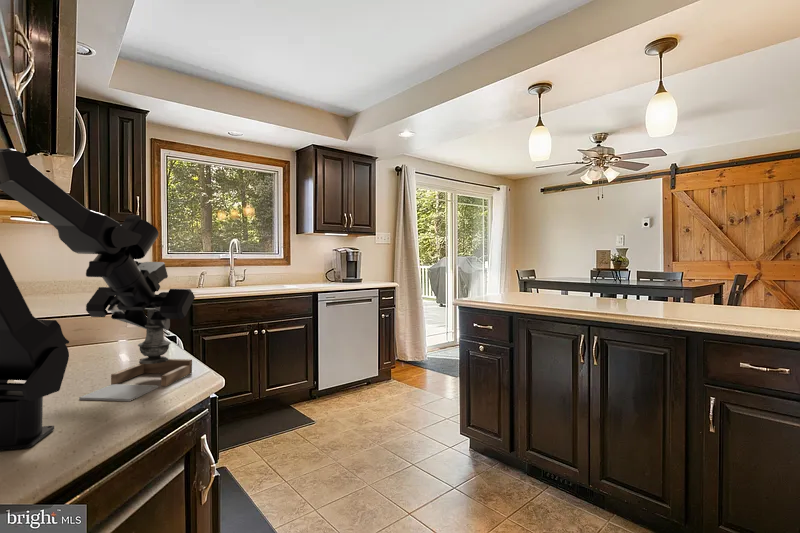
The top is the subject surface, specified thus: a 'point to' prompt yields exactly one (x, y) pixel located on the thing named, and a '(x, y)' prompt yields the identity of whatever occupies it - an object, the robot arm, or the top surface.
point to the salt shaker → (153, 342)
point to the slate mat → (119, 392)
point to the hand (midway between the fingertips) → (158, 328)
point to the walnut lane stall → (156, 371)
